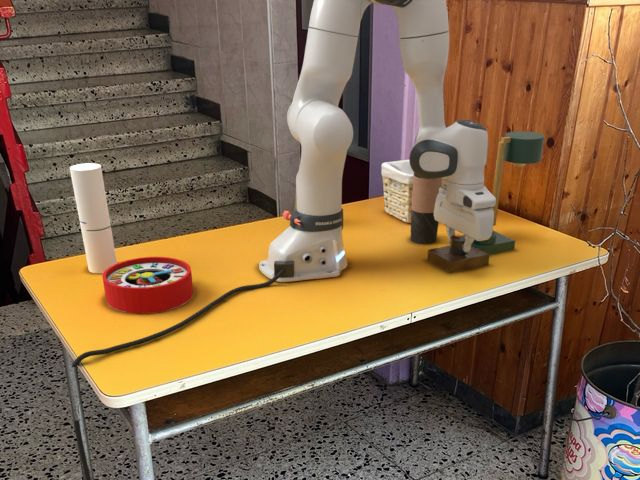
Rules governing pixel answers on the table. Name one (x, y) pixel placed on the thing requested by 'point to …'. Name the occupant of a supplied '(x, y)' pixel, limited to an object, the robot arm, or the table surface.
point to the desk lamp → (516, 155)
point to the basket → (399, 188)
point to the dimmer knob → (457, 244)
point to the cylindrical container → (93, 216)
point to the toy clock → (148, 284)
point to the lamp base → (495, 244)
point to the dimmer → (457, 259)
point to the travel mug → (424, 210)
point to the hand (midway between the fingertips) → (459, 247)
